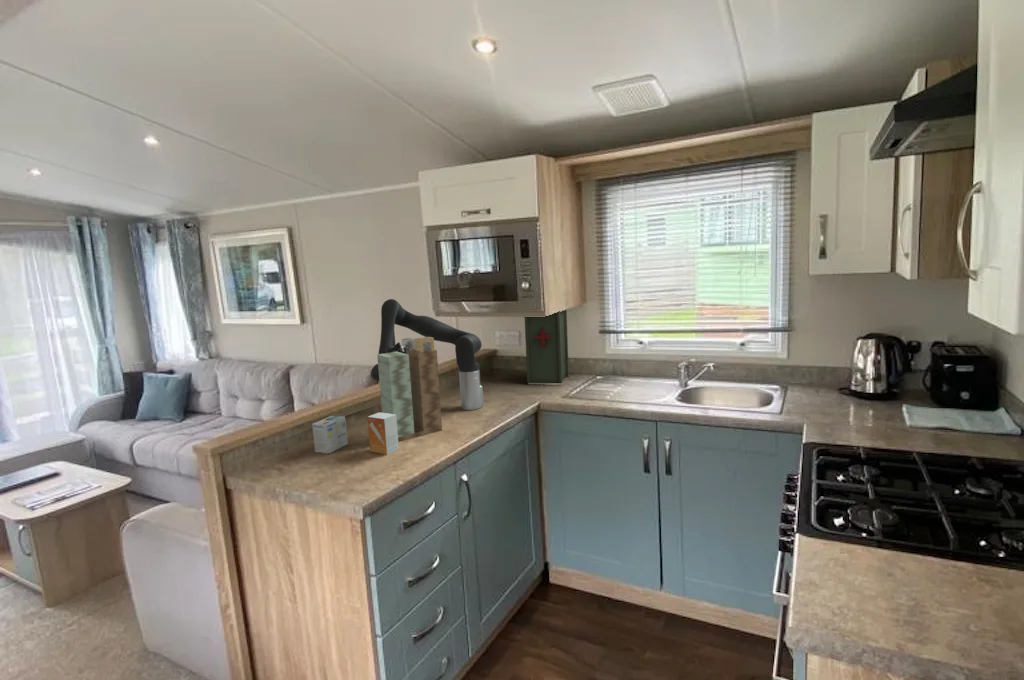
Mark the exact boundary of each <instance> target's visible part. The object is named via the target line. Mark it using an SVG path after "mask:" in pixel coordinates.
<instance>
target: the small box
mask: <svg viewBox="0 0 1024 680" xmlns="http://www.w3.org/2000/svg"><path fill="white" fill-rule="evenodd" d="M367 427H368V441H369V451H370V452H371V453H376V454H381V455H386V456H388V455H390V454H392V453H394V452H396V451H398V450H400V448H399V441H398V433H397V420H396V414H389V413H382V411H381V412H376V413H374V414H371V415H369V416H367Z"/></svg>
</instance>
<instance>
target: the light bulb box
mask: <svg viewBox="0 0 1024 680" xmlns="http://www.w3.org/2000/svg"><path fill="white" fill-rule="evenodd" d="M346 421H347V420H346V416H341V415H330V416H328V417H326V418H324V419H321V420H319V421H316V422H314V423H311V425H312V434H313V436H312V437H313V443H314V444H313V445H314V452H315V453H319V452H321V453H320V454H328V453H329V454H331V453H333V452H335V451H337V450H339V449H341V448H343V447H345V446H346V445H348V442H349V441H348V433H347V423H346Z"/></svg>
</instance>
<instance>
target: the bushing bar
mask: <svg viewBox="0 0 1024 680" xmlns="http://www.w3.org/2000/svg"><path fill="white" fill-rule="evenodd" d="M401 348H406V349H411V350H416V352H420V353H421V352H427V351H434V350H435V340H434V338H433V337H425V336H423V337H417V338H413V337H412V338H411V337H407V338H401Z"/></svg>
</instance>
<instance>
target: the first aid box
mask: <svg viewBox="0 0 1024 680" xmlns="http://www.w3.org/2000/svg"><path fill="white" fill-rule="evenodd" d="M567 311H568V309H567V310H565V311H562V312H560V311H559V312H557V313H554V314H552V315H549V316H545V317H525V316H524V333H525V334H524V335H525V339H524V340H525V354H526V356H525V357H526V358H525V359H526V360H525V361H526V381H527V383H562V381H563V379H565V378H568V377H569V378H570V375H569V373H570V372H569V371H570V369H569V368H570V367H569V347H568V346H569V343H568V342H569V341H568V313H567Z"/></svg>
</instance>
